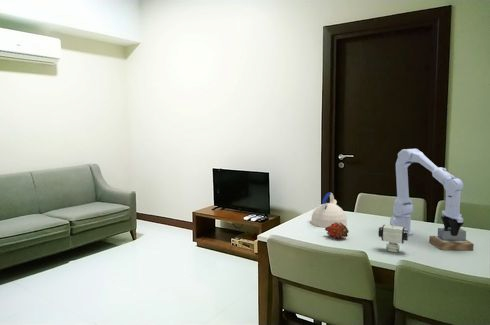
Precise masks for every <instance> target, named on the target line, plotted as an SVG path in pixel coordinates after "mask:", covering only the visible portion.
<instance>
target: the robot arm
mask: <svg viewBox="0 0 490 325" xmlns="http://www.w3.org/2000/svg"><path fill="white" fill-rule="evenodd" d="M413 163H418V164H420V165H421V166H423V167H424V168H425V169H427V170H429V171H430V172H431V175H432V177H433V178H434V179H435V180H436V181H438V182H439V183H440V184H441V185H442V186H443V189H444V190H445V207H444V208H445V210H441V215H442V216H440V219H441V221H442V224H443V228H448V227H451V234H452V236H457V235H458V232H459V229H460V228H461V227H462V226H463V224H464V218H463V217H462V216H463V214H461V212H460V210H461V194H462V193H461V192H462V191H461V190H463V188H464V186H465V185H464V181H463V180H461V178H460V177H459V178H458V177H456V176H455V175H453V174H451V173H449V172H448V171H447V168H446V167H442V166H441V167H439V166H437V165H436V164H434V162H432V160H430V159H429V158H428V157H427V156H426V155H425V154H424V153H423V152H422V151H420V150H419V149H418V148H407V149H406V148H405V149H404V148H403V149H401V150H400V151H399V152H398V153H397V159H396V162H395V178H396V198H395V200H394V201H393V206H392V212H393V215H391V216H390V218H389V225H391V226H392V225H395V226H399V227H405V229H406V231H408V236H409V235H410V236H411V235H412V236H413V235H414V233H413V232H412V231H411V223H412V220H411V219H412V214H413V213H414V211H415V206H414V205H413V200H412V198H411V197H410V193H409V176H408V175H409V174H408V171H409V170H408V168H409V166H411V164H413Z"/></svg>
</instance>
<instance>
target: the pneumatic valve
mask: <svg viewBox="0 0 490 325" xmlns="http://www.w3.org/2000/svg"><path fill="white" fill-rule="evenodd" d="M378 238H380V239H381V241H383V242H388V243H386V244H385V248H386V250H387V251H388V252H390V253H398V252H400V245H399V244H402V245H403V244H404V243H405V241H406V242H407V241H409V235H408V231H406V229H405V227H399V226H395V225H392V226H391V225H390V224H383V225H382V227H381V226H380V227H378Z"/></svg>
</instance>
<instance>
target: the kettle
mask: <svg viewBox="0 0 490 325" xmlns="http://www.w3.org/2000/svg"><path fill="white" fill-rule="evenodd" d="M328 198H329V202H327V200H328ZM337 203H338V201H337V199H335V196H334V194H333V193H332V192H327V193H326V194H325V195H324V197H323V199H322V200H321V204H320V205H318V206H316V208H315V209H313V210H314V211H312V214H311V221H310V223H311V224H312V225H313V226H315V227H318V228H326V227H328V226H331V225H332V224H334V222H337V223H338V224H340V223H342V224H343V225H344V226H346V227H347V225H348V223H347V222H348V220H347V215H346V213H345V211H344V210H343V208H342V207H340V206H339V205H338V204H337Z"/></svg>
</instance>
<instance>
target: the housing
mask: <svg viewBox="0 0 490 325" xmlns="http://www.w3.org/2000/svg"><path fill="white" fill-rule="evenodd" d="M437 236H438V238H440V239H441V240H443V241H466V240H467V230H465V229H463V228H461V227H460V229H459V232H458V235H457V236H452V234H451V227H448V228H444V227H438V228H437Z"/></svg>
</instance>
